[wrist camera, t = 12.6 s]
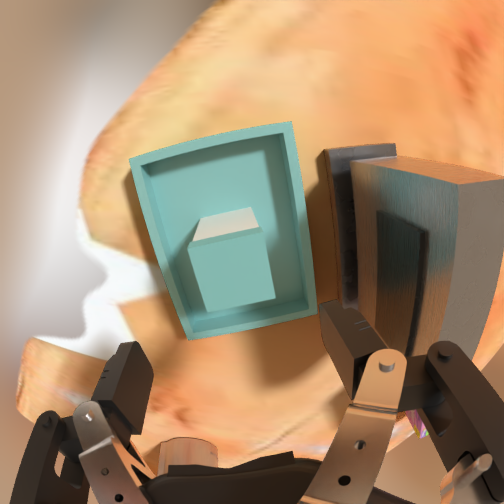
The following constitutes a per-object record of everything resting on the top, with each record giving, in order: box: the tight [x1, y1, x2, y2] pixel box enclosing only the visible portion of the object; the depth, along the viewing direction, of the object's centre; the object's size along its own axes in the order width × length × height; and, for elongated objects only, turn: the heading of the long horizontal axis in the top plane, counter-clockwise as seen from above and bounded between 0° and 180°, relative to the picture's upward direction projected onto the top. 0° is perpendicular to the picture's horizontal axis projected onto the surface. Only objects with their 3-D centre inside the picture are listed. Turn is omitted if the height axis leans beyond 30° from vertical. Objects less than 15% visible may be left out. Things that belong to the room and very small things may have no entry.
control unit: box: [324, 143, 504, 361], centre depth 19 cm, size 7×18×15 cm, turn 11°
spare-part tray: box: [129, 121, 318, 340], centre depth 23 cm, size 13×17×3 cm
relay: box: [187, 207, 276, 312], centre depth 20 cm, size 5×5×8 cm
